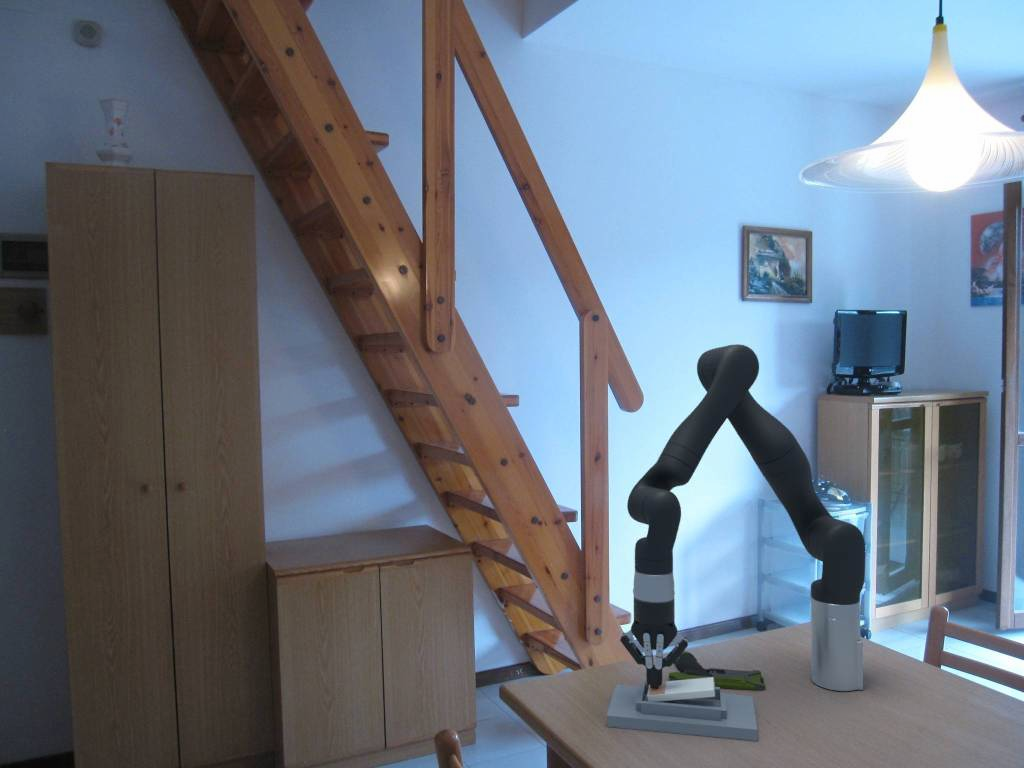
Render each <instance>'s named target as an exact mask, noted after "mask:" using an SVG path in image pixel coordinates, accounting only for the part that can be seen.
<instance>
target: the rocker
mask: <svg viewBox="0 0 1024 768" xmlns="http://www.w3.org/2000/svg"><path fill="white" fill-rule="evenodd" d="M647 697H648V701H651V702H658V701H670V700H682V699H694V698H705V697H715V683H714V678H713V677H709V678H698V679H687V680H676V681H669V680H662V684H661V686H658V689H655V688H650V685H649V689H648V694H647Z"/></svg>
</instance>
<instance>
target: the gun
mask: <svg viewBox="0 0 1024 768" xmlns="http://www.w3.org/2000/svg"><path fill="white" fill-rule="evenodd" d="M673 664H674V665H675V666H676V667H677V669H678V670H679V671H680V672H679V671H673V672H671V671H670V672H669V673H668V681H676V680H687V679H698V678H709V677H713V678H714V683H715V687H720V689H726V690H727V689H728V690H738V691H739V690H741V691H752V692H753V691H754V692H756V691H757V692H762V691H765V689H766V683H764V682H765V679H764V678H763V675H762V672H761V670H757V669H752V670H739V669H727V668H715V667H713V668H712V667H710V668H704V667H703V666H702V665H701V664H700V663H699V662H698V660H697V658H696V657H695V655H694V654H692V653H691V652H689V651H686V650H684V651H683V652H682V653H681V655H680V656H679V657H678V658H677V659H676V660H675V662H674V663H673Z"/></svg>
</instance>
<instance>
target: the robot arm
mask: <svg viewBox="0 0 1024 768" xmlns="http://www.w3.org/2000/svg"><path fill="white" fill-rule="evenodd" d="M696 373H697V377H698V381H699V382H700V384H701V386H702V387H703V389H704V390H705V392H706V393H705V395H704V397H703V398H702V400H700V402H699V403H698V405H697V406H696V407H695V408H694V409H693V410H692V412H690V414H688V416H686V418H685V419H684V420H683V421H682V422H681V423H680V424H679V425H678V427H676V429H675V430H674V431H673V433H672V434H671V436H670V437H669V439H668V441H666V444H665V446H664V447H663V449H662V451H661V453H660V454H659V456H658V459H657V460H656V462H655V463H654V464H653V465H652V466H651V467H650V468H649V469H647V471H646V472H645V473H644V475H643V476H641V478H640V479H638V481H637V483H635V485H634V486H633V488H632V489H631V491H630V493H629V495H628V499H627V513H628V514H629V516H630V517H631V519H633V520H634V521H636V522H637V523H640V524H644V525H648V529H647V534H646V536H644V537H641V538H639V539H637V540H636V542H635V547H634V575H633V588H632V594H633V622H632V623H631V627H630V630H628V631H626V632H623V633H622V634H621V635H620V640H619V641H620V642H621V644H622V645H623V646H624V648H625V650H626V651H627V652H628V653H629V654H630V656H631V658H632V659H633V660H634V661H635V662H636V664H637V665H639V666H640V665H642V666H644V667H645V668H646V681H647V684H648V685H650V688H655V689H658V686H661V684H662V681H663V669H664V668H669V667H672V665H673V664H675V663H674V662H675V660H676V659H677V658H678V657H679V656H680V655H681V653H682V652H683V651H686V649H687V648H688V646H689V638H687V637H686V636H682V635H681V634H680V633H679V632H678V628H677V626H676V623H675V621H676V620H675V619H676V618H675V616H676V615H675V614H676V613H675V612H676V611H675V609H676V608H675V605H676V604H675V594H676V593H675V591H676V590H675V578H674V554H673V553H674V546H675V543H676V539H677V536H678V532H679V529H680V525H681V519H682V508H681V503H680V501H679V499H678V497H677V495H676V494H675V493H674V492H673V491H672V490H673V489H675V488H676V487H682V486H685V485H686V484H688V483H689V481H690V480H691V479H692V477H693V475H694V473H695V472H696V470H697V468H698V466H699V464H700V462H701V460H702V459H703V457H704V455H705V452H706V451H707V449H708V448H709V446H710V444H711V442H712V441H713V439H714V438H715V436H716V434H718V432H719V430H720V429H721V427H722V426H723V425H724V423H726V420H728V421H729V423H730V425H732V427H733V429H734V431H735V432H736V434H737V435H738V437H739V439H740V440H741V442H742V444H743V445H744V446H745V448H746V449H747V451H748V453H749V454H750V456H751V458H752V460H753V461H754V463H755V465H756V466H757V468H758V469H759V471H760V472H761V474H762V476H763V477H764V478H765V480H766V482H767V483H768V485H769V487H771V489H772V491H773V493H774V494H775V496H776V497H777V499H778V501H779V502H780V504H781V505H782V506H783V507H784V509H785V510H786V512H787V514H788V516H789V518H790V520H791V522H792V524H793V526H794V529H795V531H796V533H797V535H798V536H799V539H800V541H801V544H802V545H803V547H804V549H805V550H806V552H807V553H808V554H809V555H810V556H811V557H812V558H814V559H816V560H818V561H820V562H822V565H821V567H822V570H821V571H822V573H821V578H819V579H815V580H813V581H812V583H811V585H810V627H811V628H810V631H811V633H810V634H811V635H810V640H811V641H810V642H811V644H810V647H811V648H810V651H811V653H810V654H811V655H810V656H811V659H810V660H811V668H810V669H811V681H812V682H813V683H814V684H815V685H817V686H818V687H821V688H824V689H826V690H827V689H828V690H829V691H837V692H839V691H840V692H850V691H851V692H852V691H855V690H857V691H858V690H860V691H861V690H862V691H863V690H864V649H863V648H864V645H863V640H862V639H861V593H862V590H863V588H864V585H865V577H866V576H865V572H866V555H867V554H866V542H865V538H864V534H863V533H862V531H861V530H860V529H859V527H858V526H856V525H854V524H853V523H850V522H847V521H844V520H840V519H837V518H835V517H834V516H833V515H832V514H831V513H830V512H829V511H828V510H827V508H826V507H825V506H824V503H823V502H822V501H821V499H820V498H819V496H818V494H817V492H816V490H815V486H814V484H813V483H814V482H813V474H812V469H811V464H810V462H809V458H808V457H807V455H806V453H805V452H804V450H803V448H802V447H801V445H800V443H799V441H798V440H797V438H796V436H795V435H794V433H792V431H791V430H790V429H789V428H788V427H786V425H785V424H784V423H782V422H781V421H780V420H779V419H778V418H776V417H775V416H774V415H772V414H771V413H770V412H769V411H767V410H766V409H765V408H764V407H763V406H761V404H759V402H757V400H756V399H755V398H754V397H753V395H752V393H751V392H750V389H752V386H753V385H754V383H755V382H756V380H757V378H758V376H759V373H760V362H759V358H758V355H757V354H756V353H755V351H754V350H753V349H752V348H750V347H749V346H747V345H745V344H739V343H738V344H730V345H725V346H724V345H723V346H719V347H714V348H712V349H709V350H706V351H705V352H703V353H702V354H701V355H700V356H699V358H698V360H697V363H696ZM635 639H636V640H637V642H638V643H639V645H640V647H642V648H643V649H644V650H643V651H644V654H643V653H642V651H641V650H640V649H639V647H638V646H637V645H636V644H635ZM674 639H675V640H674ZM672 642H674V647H673V648H672V649H671V651H670V652H669V653H668V654H667V655H666V657H665V656H664V650H666V649H667V648H668V647H669V646H670V645H671V643H672ZM653 650H655V661H654V653H653V652H654V651H653Z"/></svg>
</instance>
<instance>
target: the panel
mask: <svg viewBox="0 0 1024 768" xmlns="http://www.w3.org/2000/svg"><path fill="white" fill-rule="evenodd" d="M648 689H649V685H648V684H647V680H645V681H644V685H641V684H640V685H639V686H637V685H635V686H634V685H621V684H615V685H614V689H613V692H612V694H611V695H612V696H611V699H610V702H609V706H608V709H607V713H606V727H607V728H617V729H618V728H619V729H627V730H628V729H629V730H640V731H648V732H649V731H650V732H658V733H670V734H681V735H689V736H690V735H691V736H699V737H700V736H701V737H710V738H711V737H712V738H719V739H720V738H722V739H730V740H731V739H733V740H741V741H742V740H743V741H751V742H753V741H754V742H757V741H758V725H757V718H756V710H755V703H754V696H752V695H743V694H731V693H726V692H725V691H721V688H720V687H715V697H705V698H694V699H682V700H670V701H658V702H651V701H648V697H647V694H648Z"/></svg>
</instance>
